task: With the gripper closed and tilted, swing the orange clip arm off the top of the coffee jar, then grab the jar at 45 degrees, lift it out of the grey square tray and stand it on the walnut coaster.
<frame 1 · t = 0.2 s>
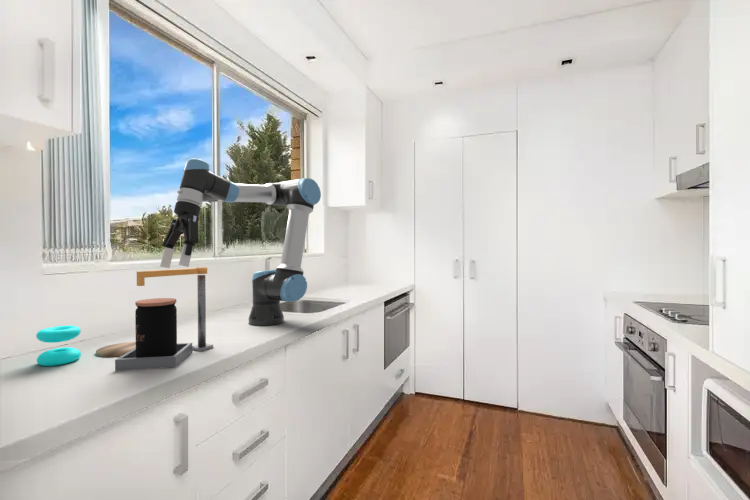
hand: (173, 266, 119), 28 cm above the counter, tool tilted 15°, fingers open, 13 cm apart
coaster: (124, 350, 123), on the counter
donuts: (59, 362, 111), on the counter
clip arm: (175, 275, 116), point 25 cm above the counter, hinge at 0.0°
coffee jar: (156, 361, 112), resting in grey square tray
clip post: (201, 348, 125), on the counter
grey square tray: (156, 360, 112), on the counter
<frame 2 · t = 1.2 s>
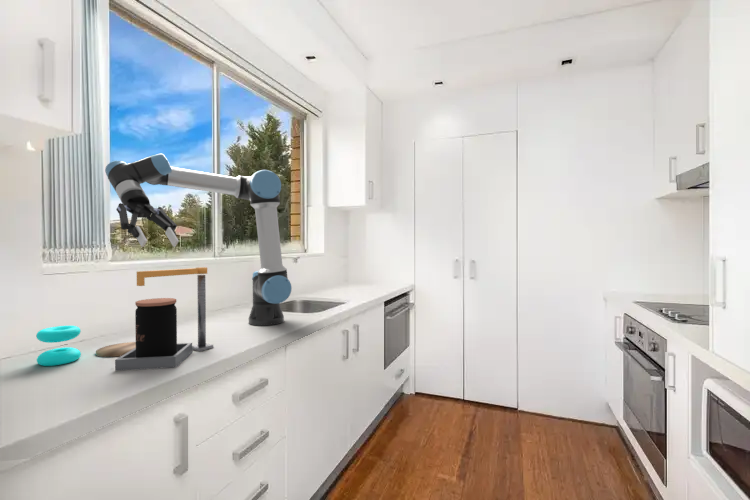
hand: (160, 243, 119), 35 cm above the counter, tool tilted 45°, fingers open, 9 cm apart
nothing on the counter moved.
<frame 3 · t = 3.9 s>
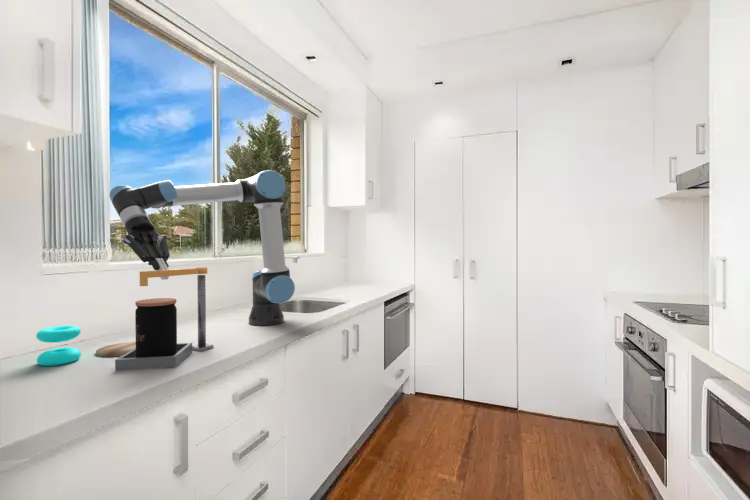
hand: (166, 276, 115), 25 cm above the counter, tool tilted 45°, fingers closed
clip arm: (176, 275, 116), point 25 cm above the counter, hinge at 4.6°, touching gripper
everything else where it was.
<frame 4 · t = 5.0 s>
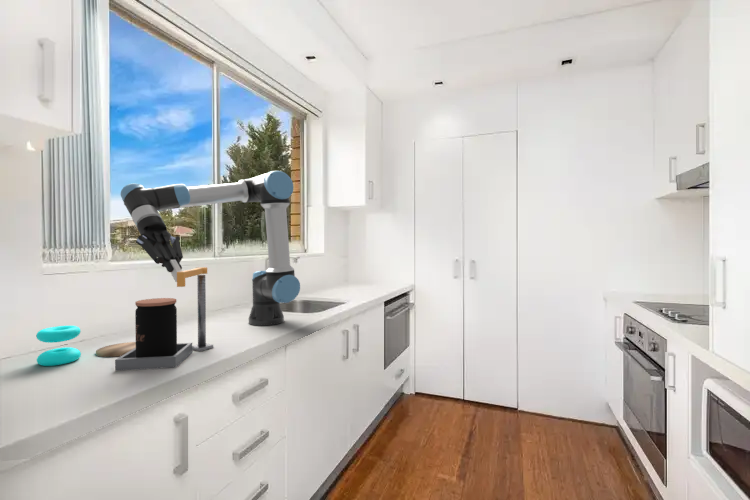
hand: (180, 278, 111), 24 cm above the counter, tool tilted 45°, fingers closed
clip arm: (192, 276, 115), point 25 cm above the counter, hinge at 39.4°, touching gripper
everything else where it was.
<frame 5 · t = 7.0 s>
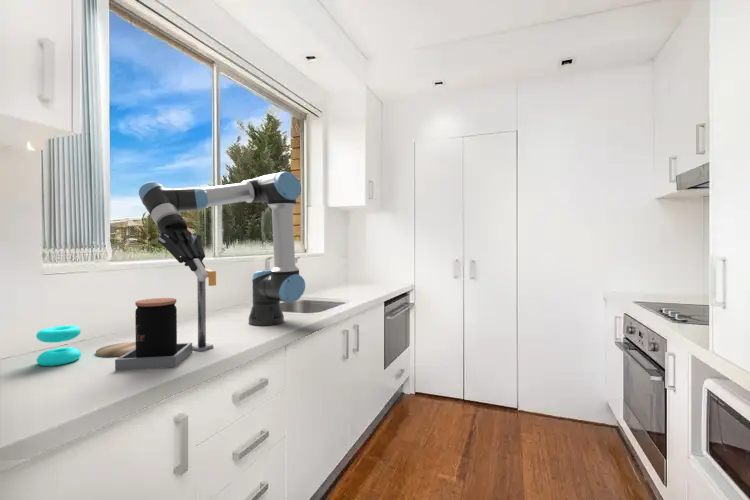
hand: (204, 277, 108), 25 cm above the counter, tool tilted 45°, fingers closed
clip arm: (206, 275, 117), point 25 cm above the counter, hinge at 63.3°, touching gripper
everything else where it was.
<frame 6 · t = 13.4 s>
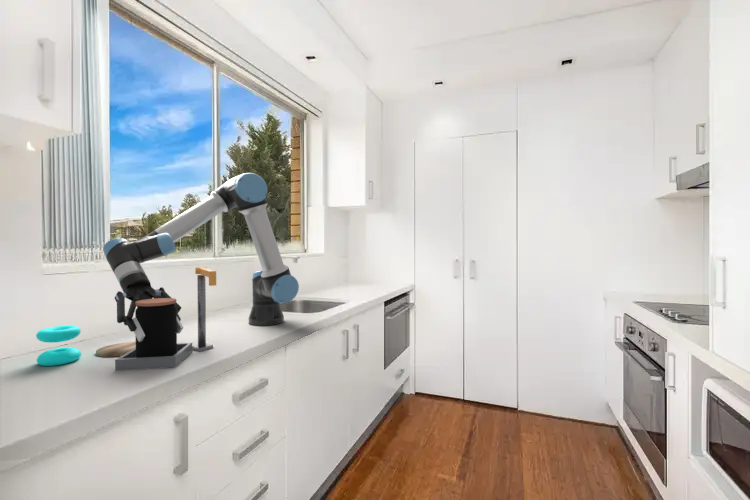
hand: (162, 334, 110), 8 cm above the counter, tool tilted 45°, fingers closed on coffee jar, 11 cm apart
clip arm: (206, 275, 117), point 25 cm above the counter, hinge at 63.5°
coffee jar: (156, 361, 112), resting in grey square tray, touching gripper
everything else where it was.
when the fingers open (10 cm above the counter, at t = 21.0 s): coffee jar drops 1 cm, resting on coaster.
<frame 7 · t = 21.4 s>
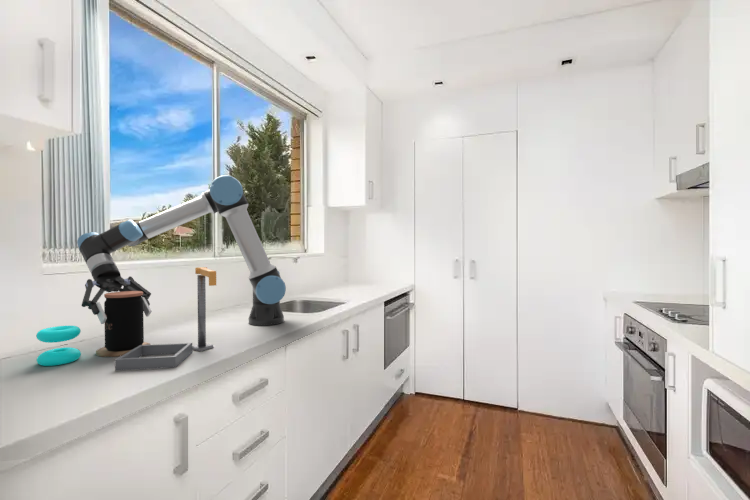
hand: (127, 317, 122), 11 cm above the counter, tool tilted 45°, fingers open, 13 cm apart
coffee jar: (124, 348, 123), point 1 cm above the counter, touching coaster
everything else where it was.
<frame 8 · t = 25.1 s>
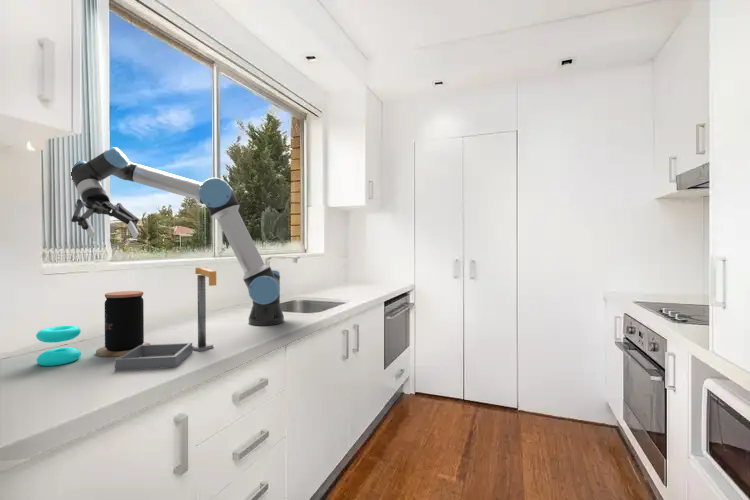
hand: (115, 235, 128), 38 cm above the counter, tool tilted 45°, fingers open, 13 cm apart
nothing on the counter moved.
at the end: coffee jar inside the target area (0.2 cm from its centre), point 0.6 cm above the counter; coffee jar tilted 0°; clip arm at +64° (first picture: +0°) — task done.
